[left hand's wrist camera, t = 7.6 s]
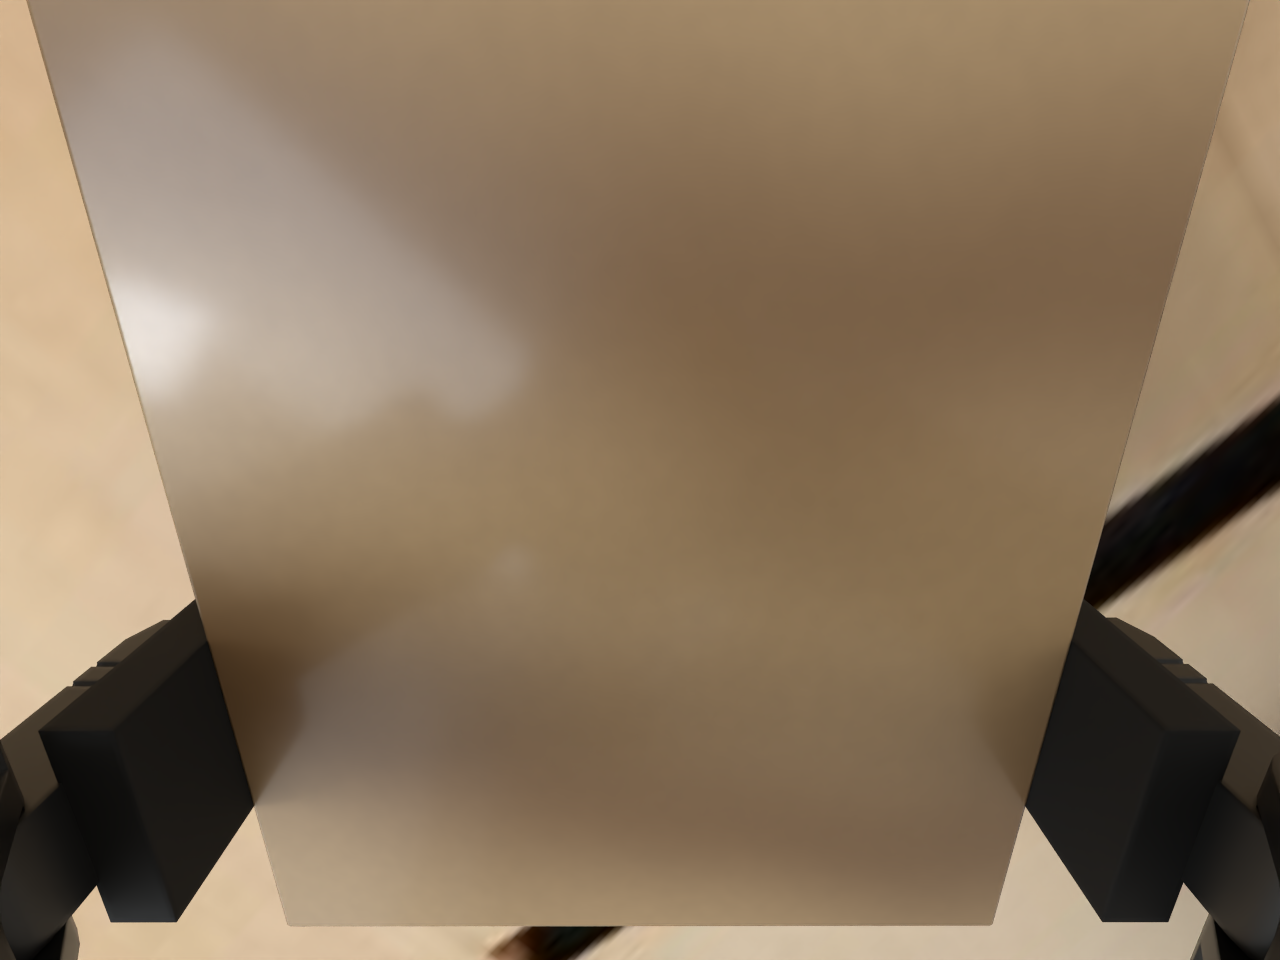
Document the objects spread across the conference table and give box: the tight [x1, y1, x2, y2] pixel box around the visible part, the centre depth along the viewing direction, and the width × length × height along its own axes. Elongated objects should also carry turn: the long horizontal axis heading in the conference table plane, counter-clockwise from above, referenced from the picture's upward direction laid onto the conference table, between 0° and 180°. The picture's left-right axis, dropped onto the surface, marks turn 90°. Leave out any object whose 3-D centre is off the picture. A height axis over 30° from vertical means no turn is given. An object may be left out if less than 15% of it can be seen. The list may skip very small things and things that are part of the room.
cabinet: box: [26, 0, 1250, 926], centre depth 11 cm, size 20×11×10 cm, turn 0°
